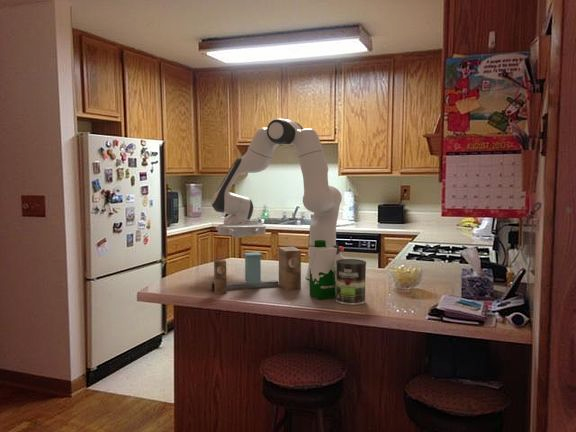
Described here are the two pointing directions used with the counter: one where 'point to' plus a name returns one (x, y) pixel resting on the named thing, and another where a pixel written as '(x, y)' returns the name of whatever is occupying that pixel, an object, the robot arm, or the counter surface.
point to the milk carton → (322, 270)
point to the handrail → (248, 285)
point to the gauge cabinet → (290, 268)
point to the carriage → (253, 267)
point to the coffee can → (350, 281)
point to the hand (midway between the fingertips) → (245, 232)
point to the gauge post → (220, 277)
